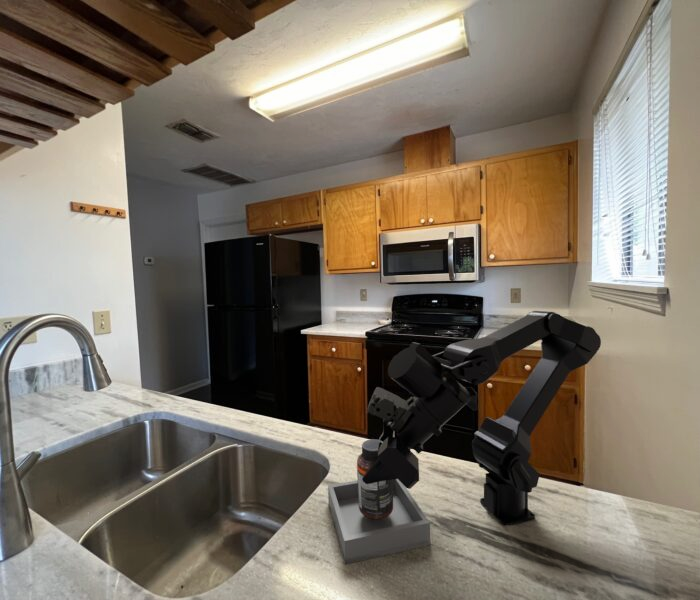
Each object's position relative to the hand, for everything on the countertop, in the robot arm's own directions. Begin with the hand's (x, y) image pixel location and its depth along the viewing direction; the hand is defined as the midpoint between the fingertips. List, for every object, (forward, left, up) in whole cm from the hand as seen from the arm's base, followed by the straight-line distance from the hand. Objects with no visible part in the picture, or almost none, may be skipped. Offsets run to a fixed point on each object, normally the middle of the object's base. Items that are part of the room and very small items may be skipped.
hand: (366, 470), depth 54 cm
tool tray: (-1, +1, -9) cm, 9 cm away
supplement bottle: (-1, +1, -7) cm, 7 cm away
